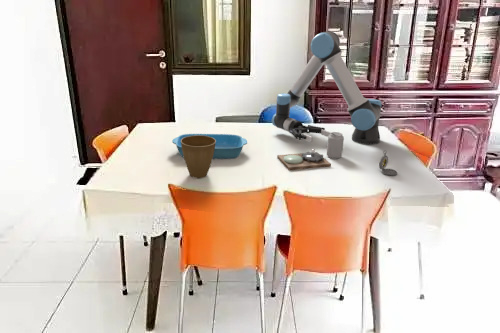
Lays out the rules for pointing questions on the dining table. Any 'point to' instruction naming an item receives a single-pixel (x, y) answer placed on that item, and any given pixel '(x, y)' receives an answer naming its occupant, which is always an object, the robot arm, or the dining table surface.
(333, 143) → the can
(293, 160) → the output pad
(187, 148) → the plant pot
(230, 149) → the casserole dish
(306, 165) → the gear board
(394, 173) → the pocket watch
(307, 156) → the gear
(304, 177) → the dining table surface
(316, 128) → the robot arm
